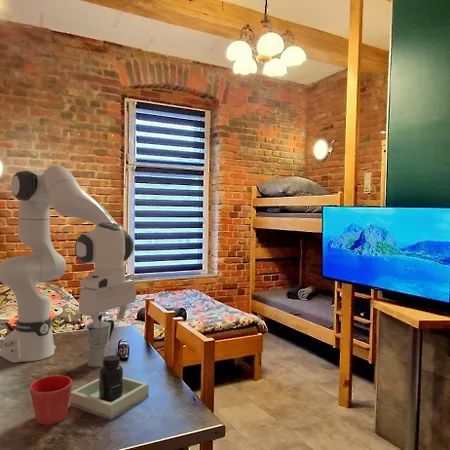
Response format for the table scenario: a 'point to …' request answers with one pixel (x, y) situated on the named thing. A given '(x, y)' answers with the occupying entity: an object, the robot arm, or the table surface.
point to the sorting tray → (91, 402)
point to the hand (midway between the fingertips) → (109, 323)
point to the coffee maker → (99, 342)
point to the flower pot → (51, 398)
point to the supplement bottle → (111, 379)
